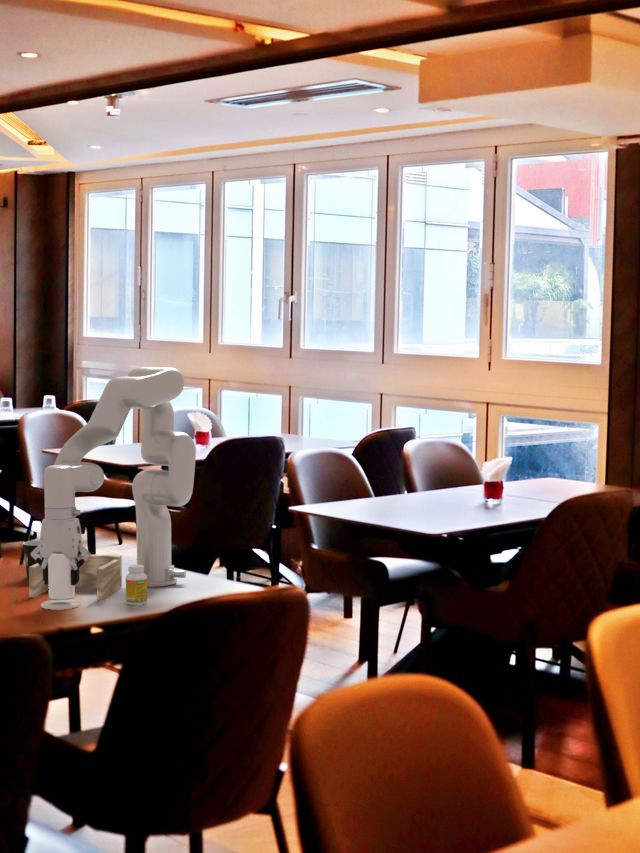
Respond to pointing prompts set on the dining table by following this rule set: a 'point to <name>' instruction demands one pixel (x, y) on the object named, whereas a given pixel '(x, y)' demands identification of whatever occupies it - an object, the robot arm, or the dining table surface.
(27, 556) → the coffee mug
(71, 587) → the can
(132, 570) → the supplement bottle
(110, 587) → the wooden arch stand
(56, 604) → the coaster
